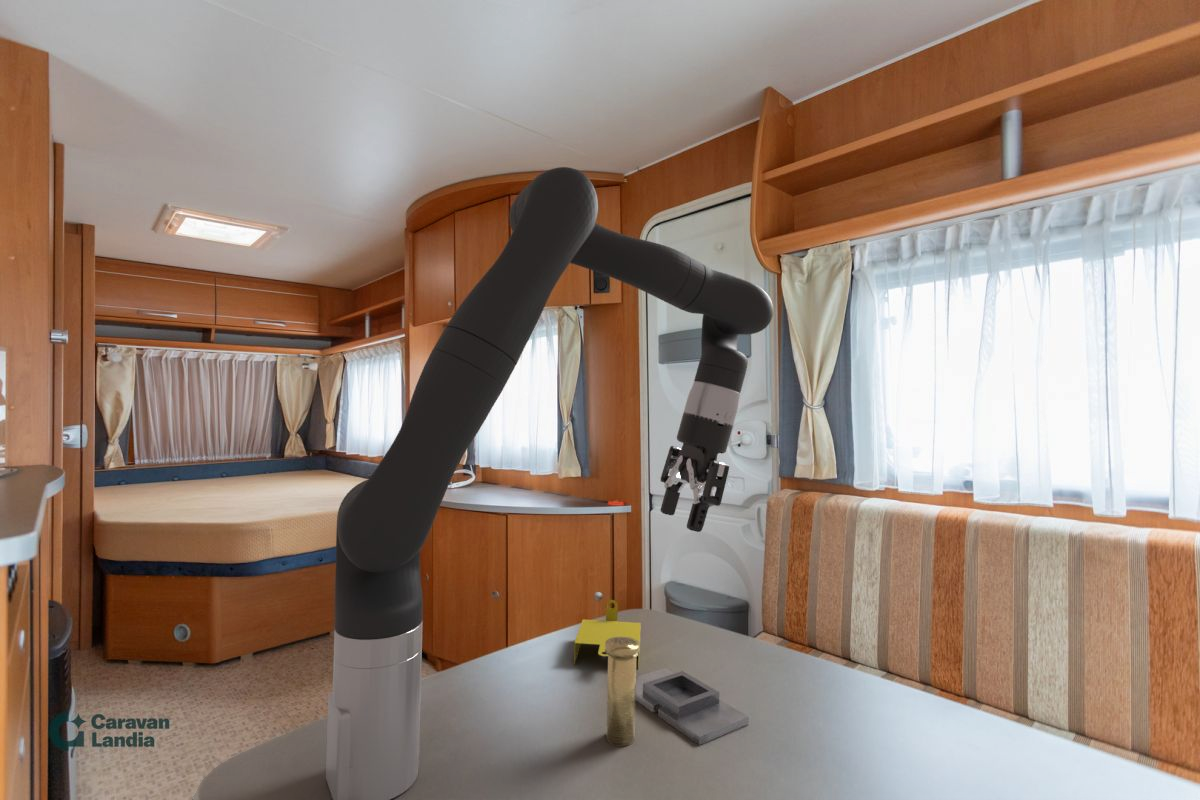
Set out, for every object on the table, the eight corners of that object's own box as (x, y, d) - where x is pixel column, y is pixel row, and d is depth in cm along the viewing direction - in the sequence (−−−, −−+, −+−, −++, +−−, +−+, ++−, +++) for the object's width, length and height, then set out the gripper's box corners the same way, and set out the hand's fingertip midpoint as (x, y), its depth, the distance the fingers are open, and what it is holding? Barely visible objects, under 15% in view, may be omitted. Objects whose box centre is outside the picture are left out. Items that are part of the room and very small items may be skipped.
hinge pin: (616, 752, 71) (618, 653, 71) (596, 734, 75) (598, 641, 75) (644, 741, 73) (646, 645, 74) (623, 725, 77) (626, 634, 77)
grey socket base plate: (699, 745, 73) (699, 725, 73) (619, 688, 87) (619, 671, 87) (748, 724, 78) (748, 705, 78) (665, 674, 92) (665, 658, 92)
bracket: (555, 629, 91) (569, 597, 106) (553, 679, 91) (568, 640, 106) (655, 635, 89) (655, 602, 104) (653, 686, 89) (654, 646, 104)
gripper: (665, 406, 92) (638, 505, 92) (712, 415, 79) (680, 531, 79) (705, 417, 95) (678, 513, 94) (757, 429, 81) (726, 541, 81)
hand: (679, 521), depth 87 cm, fingers open, 8 cm apart
